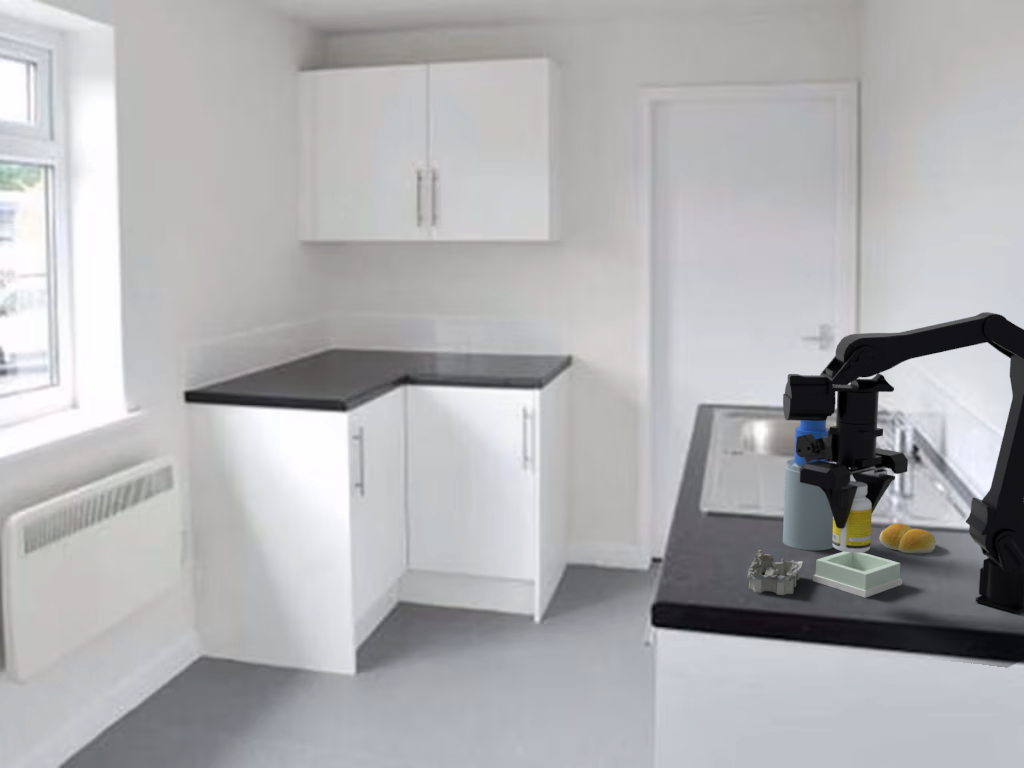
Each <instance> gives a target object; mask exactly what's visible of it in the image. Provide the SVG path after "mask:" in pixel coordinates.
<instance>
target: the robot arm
mask: <svg viewBox="0 0 1024 768" xmlns="http://www.w3.org/2000/svg"><path fill="white" fill-rule="evenodd" d="M985 343H987V344H988V345H990V346H991V347H993V348H994V349H995V350H997V351H998V352H1000V353H1001V354H1002V355H1004V356H1005V357H1007V358H1009V359H1010V363H1009V379H1010V381H1009V382H1010V386H1011V387H1010V388H1011V393H1012V394H1011V395H1012V396H1011V397H1012V400H1011V403H1010V407H1009V411H1008V416H1007V420H1006V424H1005V428H1004V432H1003V435H1002V441H1001V444H1000V448H999V451H998V452H999V453H998V456H997V460H996V465H995V468H994V472H993V477H992V481H991V485H990V488H989V490H988V491H987V493H986V494H985V495H984V497H983V498H982V499H979V498H977V497H972V499H971V503H970V504H971V506H970V513H969V516H968V517H967V519H966V520H965V523H966V524H968V525H969V529H968V530H969V531H968V532H969V535H970V538H972V540H973V541H974V543H976V544H977V545H978V546H980V549H981V553H982V555H984V556H986V557H987V558H985V559H983V562H982V563H983V565H982V567H980V569H979V581H978V583H979V584H978V594H979V596H977V597H975V599H974V600H975V602H977V603H980V604H983V605H986V606H990V607H994V608H997V609H1000V610H1004V611H1007V612H1011V613H1014V614H1021V613H1022V612H1024V328H1022V327H1020V326H1018V325H1016V324H1015V323H1013V322H1011V321H1010V320H1008V319H1007V318H1006V317H1005V316H1003V315H1002V314H1000V313H999V314H998V313H995V312H994V313H993V312H990V311H989V312H988V311H987V312H986V311H984V312H980V313H978V314H976V315H974V316H970V317H969V316H968V317H963V318H960V319H955V320H951V321H946V322H942V323H938V324H933V325H928V326H924V327H919V328H918V327H917V328H915V329H910V330H905V331H900V332H868V333H867V332H866V333H852V334H848V335H845V336H844V337H843V338H842V339H840V341H839V342H838V344H837V346H836V348H835V355H834V356H833V358H832V359H831V361H830V362H829V363H828V364H827V365H826V367H825V368H824V369H823V370H822V371H821V373H820V375H817V374H816V375H811V374H810V375H809V374H808V375H804V374H800V373H799V374H798V373H788V375H787V380H786V381H787V382H786V384H785V390H784V393H783V395H782V397H783V398H782V409H783V410H782V411H783V416H784V419H785V421H796V422H797V421H799V422H800V421H826V422H827V419H828V417H832V415H833V414H834V413H835V410H836V417H835V419H836V420H835V425H833V426H829V427H828V428H829V429H828V436H827V437H823V438H818V439H815V438H814V436H813V435H812V434H808V435H803V436H799V437H797V442H796V453H797V454H798V456H799V457H804V461H805V463H806V464H804V465H803V466H802V467H801V468H800V473H799V482H801V483H805V484H810V485H814V486H818V487H820V488H821V489H822V490H823V491H824V493H825V494H826V497H827V499H828V501H829V504H830V508H831V511H832V514H833V517H834V520H835V524H836V527H837V528H841V529H843V528H844V527H845V525H846V522H847V519H848V516H849V513H850V510H851V507H852V503H853V500H854V497H855V494H856V491H857V487H858V486H854V485H850V481H852V480H851V479H852V478H851V476H852V477H853V479H854V480H855V481H857V482H862V483H865V484H867V486H868V487H867V491H868V492H867V495H865V497H866V498H868V499H869V500H870V501H871V503H872V514H873V513H874V511H875V509H876V508H877V506H878V504H879V502H880V501H881V498H882V497H883V496H884V494H885V493H886V491H887V489H888V488H889V486H890V485H891V483H892V482H893V481H895V479H896V476H895V475H900V474H903V473H908V467H909V464H908V463H909V459H908V458H907V456H906V455H905V454H904V452H901V451H895V450H889V449H884V448H878V447H877V441H878V440H877V438H878V437H883V436H884V428H880V427H878V417H879V415H878V413H879V395H880V393H885V392H886V393H892V392H894V391H895V387H894V386H892V385H891V384H890V383H889V382H888V381H887V380H886V377H885V376H884V375H883V374H882V373H883V372H885V371H888V370H891V369H893V368H894V367H896V366H898V365H899V364H901V363H903V362H906V361H908V360H911V359H915V358H921V357H925V356H930V355H934V354H935V355H936V354H939V353H944V352H948V351H949V352H950V351H953V350H957V349H963V348H966V347H973V346H976V345H980V344H985ZM870 377H872V378H870ZM836 392H837V394H836ZM836 395H837V397H836ZM821 459H825V461H828V462H824V461H815V462H811V460H821ZM807 462H810V463H807ZM829 462H834V463H836V464H834V463H829ZM887 469H891V471H892V473H893V474H895V475H891V474H888V470H887Z"/></svg>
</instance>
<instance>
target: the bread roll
mask: <svg viewBox="0 0 1024 768" xmlns="http://www.w3.org/2000/svg"><path fill="white" fill-rule="evenodd" d="M879 542H880V543H881V545H882V546H883V547H884V548H887V549H889V550H894V551H899V552H902V553H905V554H909V555H910V554H913V555H914V554H915V555H916V554H917V555H918V554H929V553H932V552H934V550H935V549H936V543H937V541H936V539H935V536H934V535H933V533H932V532H929V531H927V530H924V529H920V528H912V527H911V526H909V525H907V524H905V523H893V524H891V525H888V526H887V527H886V528H885V529H883V530H882V531H881V532H880V534H879Z"/></svg>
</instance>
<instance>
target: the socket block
mask: <svg viewBox="0 0 1024 768" xmlns="http://www.w3.org/2000/svg"><path fill="white" fill-rule="evenodd" d="M900 575H901V563H900V562H897V561H894V560H891V559H887V558H884V557H880V556H876V555H873V554H869V553H865V552H861V553H851V552H844V551H841V552H838V553H834V554H830V555H828V556H824V557H821V558H818V559H816V560H815V574H813V575H812V581H813V582H815V583H818V584H821V585H825V586H828V587H830V588H834V589H835V590H840V591H842V592H846V593H848V594H852V595H856V596H859V597H862V598H868V597H869V598H870V597H871V596H874V595H876V594H880V593H882V592H886V591H888V590H891V589H893V588H897V587H899V586H902V584H903V583H902V582H903V578H902V577H901V576H900ZM900 577H901V578H900Z"/></svg>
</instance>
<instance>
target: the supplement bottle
mask: <svg viewBox="0 0 1024 768" xmlns="http://www.w3.org/2000/svg"><path fill="white" fill-rule="evenodd" d="M850 485H854V486H858V487H857V491H856V494H855V497H854V500H853V503H852V507H851V510H850V513H849V516H848V519H847V522H846V525H845V527H844V528H843V529H841V528H837V527H836V524H835V520H834V517H833V540H832V544H833V548H834V549H835V550H838V551H841V552H843V551H844V552H851V553H861V552H862V553H865V552H868V551H869V550H870V549H871V542H872V541H871V539H872V538H871V537H872V514H873V513H872V503H871V501H870V500H869V499H868V498H866V497H865V495H867V492H868V491H867V487H868V486H867V484H865V483H862V482H857V481H856V480H855V481H854V480H850Z"/></svg>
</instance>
